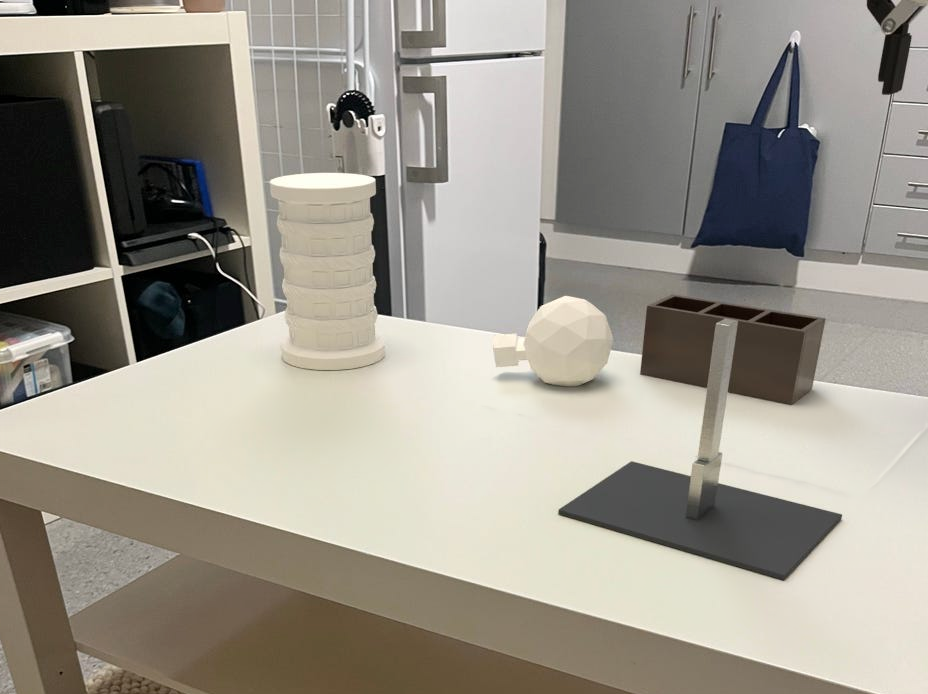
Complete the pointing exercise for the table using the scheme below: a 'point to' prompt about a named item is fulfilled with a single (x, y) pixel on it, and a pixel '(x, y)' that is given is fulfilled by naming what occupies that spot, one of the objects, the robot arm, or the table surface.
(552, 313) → the perfume bottle
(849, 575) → the table surface
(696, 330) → the box
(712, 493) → the stepped grey rod
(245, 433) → the table surface
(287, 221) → the decorative container
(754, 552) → the mat
